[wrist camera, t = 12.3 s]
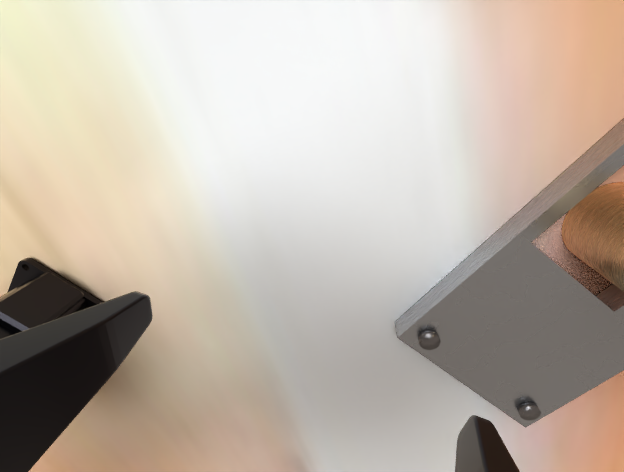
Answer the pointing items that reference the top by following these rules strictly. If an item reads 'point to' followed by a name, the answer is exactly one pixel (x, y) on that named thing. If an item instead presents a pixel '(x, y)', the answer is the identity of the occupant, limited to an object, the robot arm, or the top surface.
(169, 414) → the top surface
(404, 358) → the top surface
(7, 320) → the robot arm
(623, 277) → the disc
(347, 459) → the top surface
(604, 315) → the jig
